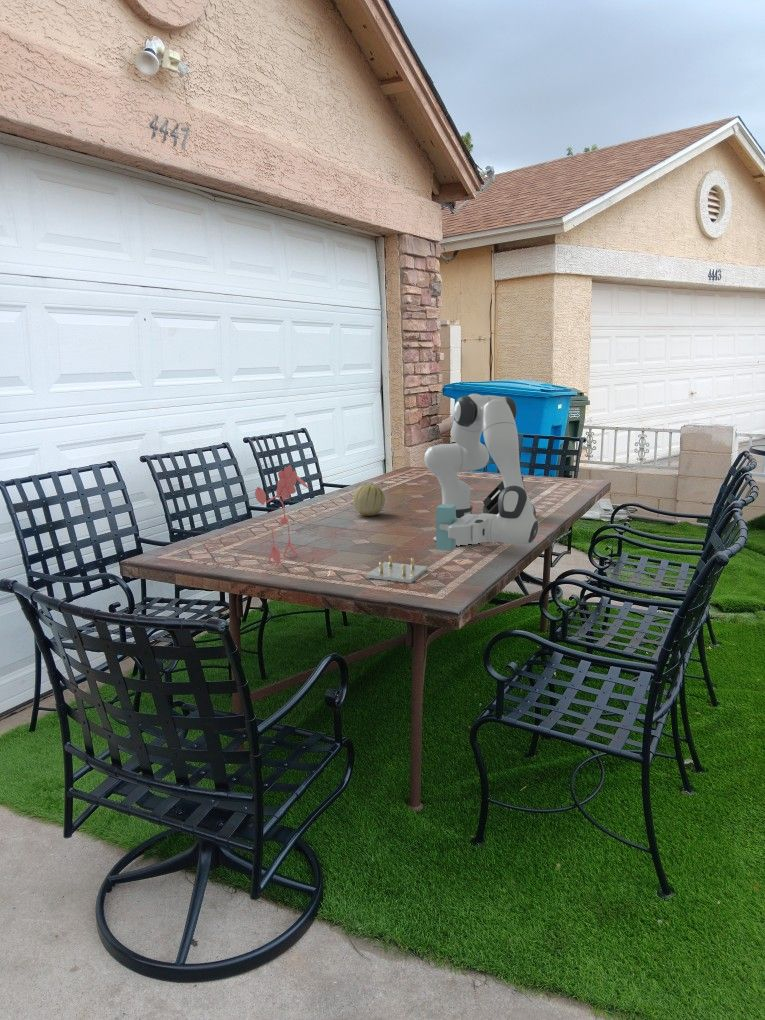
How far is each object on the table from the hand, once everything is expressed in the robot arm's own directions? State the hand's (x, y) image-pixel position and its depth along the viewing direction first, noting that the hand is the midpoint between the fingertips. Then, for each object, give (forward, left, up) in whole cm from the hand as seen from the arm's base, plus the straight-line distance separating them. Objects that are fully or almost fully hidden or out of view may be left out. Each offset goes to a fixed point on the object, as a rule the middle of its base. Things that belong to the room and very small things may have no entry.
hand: (443, 523), depth 236 cm
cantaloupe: (-81, -63, -19) cm, 104 cm away
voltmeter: (-95, -4, -20) cm, 97 cm away
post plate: (-2, -17, -19) cm, 26 cm away
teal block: (0, +1, -8) cm, 8 cm away
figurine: (-3, -59, -19) cm, 62 cm away
